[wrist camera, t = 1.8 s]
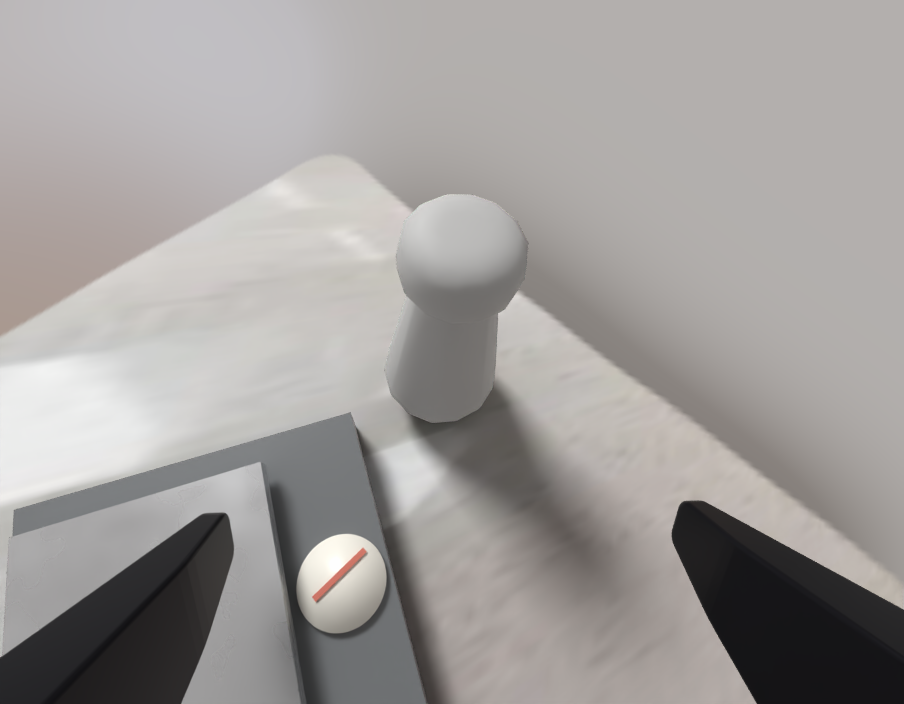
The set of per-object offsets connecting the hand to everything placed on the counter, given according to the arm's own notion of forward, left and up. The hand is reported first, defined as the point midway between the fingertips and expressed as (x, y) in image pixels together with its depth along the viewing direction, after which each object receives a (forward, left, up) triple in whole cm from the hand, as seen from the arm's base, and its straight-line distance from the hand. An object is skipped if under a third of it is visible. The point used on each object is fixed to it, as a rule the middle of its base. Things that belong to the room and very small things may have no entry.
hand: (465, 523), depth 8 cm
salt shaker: (+8, -3, -14) cm, 16 cm away
